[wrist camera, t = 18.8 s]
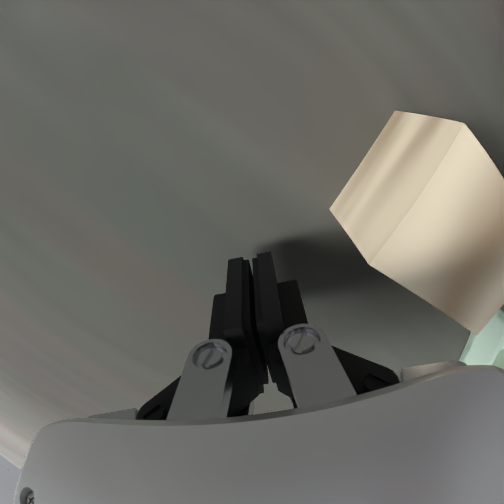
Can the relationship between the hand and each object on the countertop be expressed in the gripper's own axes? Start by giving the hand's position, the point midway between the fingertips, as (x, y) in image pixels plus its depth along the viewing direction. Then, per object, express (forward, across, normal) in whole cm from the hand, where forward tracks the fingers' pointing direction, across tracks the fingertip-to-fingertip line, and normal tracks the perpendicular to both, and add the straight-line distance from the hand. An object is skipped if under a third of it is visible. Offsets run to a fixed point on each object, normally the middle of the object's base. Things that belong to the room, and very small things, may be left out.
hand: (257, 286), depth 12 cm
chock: (+1, -8, -1) cm, 8 cm away
